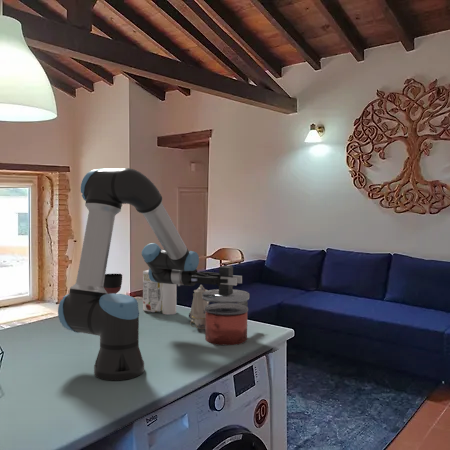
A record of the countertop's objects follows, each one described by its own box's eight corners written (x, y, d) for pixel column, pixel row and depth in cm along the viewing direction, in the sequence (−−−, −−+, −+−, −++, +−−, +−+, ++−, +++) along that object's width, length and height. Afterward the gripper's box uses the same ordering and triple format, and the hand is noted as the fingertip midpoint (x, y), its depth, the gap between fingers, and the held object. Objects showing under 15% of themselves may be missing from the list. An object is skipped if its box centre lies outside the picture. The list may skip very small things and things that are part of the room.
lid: (237, 305, 169) (238, 271, 169) (193, 300, 177) (193, 268, 176) (256, 295, 186) (256, 265, 185) (215, 291, 193) (215, 262, 193)
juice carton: (154, 313, 220) (154, 272, 219) (140, 310, 225) (140, 270, 224) (165, 310, 227) (165, 270, 226) (151, 307, 231) (151, 268, 230)
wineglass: (100, 319, 208) (100, 274, 207) (120, 317, 212) (120, 273, 210) (103, 324, 201) (103, 277, 200) (124, 322, 204) (124, 275, 203)
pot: (237, 347, 171) (237, 315, 170) (196, 341, 178) (197, 309, 177) (263, 329, 195) (263, 300, 194) (226, 324, 202) (226, 296, 201)
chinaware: (207, 337, 190) (211, 296, 188) (172, 327, 197) (175, 288, 195) (236, 320, 215) (240, 285, 213) (203, 312, 222) (207, 278, 220)
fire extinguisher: (155, 310, 225) (156, 258, 223) (180, 311, 225) (182, 259, 223) (153, 314, 218) (154, 260, 216) (179, 315, 218) (181, 261, 216)
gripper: (195, 281, 197) (247, 286, 187) (173, 288, 181) (229, 294, 171) (195, 263, 196) (247, 267, 186) (173, 269, 181) (229, 274, 171)
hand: (238, 280), depth 179 cm, fingers closed on lid, 4 cm apart
